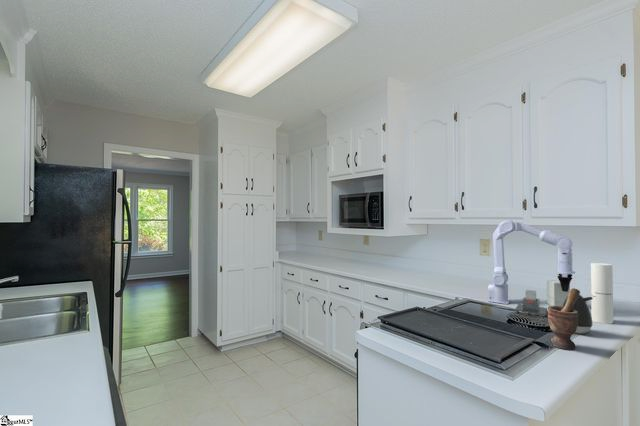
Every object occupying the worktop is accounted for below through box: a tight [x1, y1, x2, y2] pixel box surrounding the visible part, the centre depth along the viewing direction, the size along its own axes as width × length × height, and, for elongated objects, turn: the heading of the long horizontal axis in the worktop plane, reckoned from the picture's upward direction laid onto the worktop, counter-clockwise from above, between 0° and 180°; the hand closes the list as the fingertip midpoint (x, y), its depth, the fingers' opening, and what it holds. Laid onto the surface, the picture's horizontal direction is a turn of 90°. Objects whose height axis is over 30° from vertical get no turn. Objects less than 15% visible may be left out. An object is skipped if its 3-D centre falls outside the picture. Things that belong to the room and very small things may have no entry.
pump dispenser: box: [562, 294, 593, 335], centre depth 130 cm, size 10×10×15 cm
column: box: [525, 289, 537, 301], centre depth 157 cm, size 4×4×8 cm
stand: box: [514, 296, 548, 317], centre depth 157 cm, size 12×12×6 cm
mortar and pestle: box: [547, 287, 581, 351], centre depth 117 cm, size 12×9×20 cm
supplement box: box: [546, 279, 571, 307], centre depth 167 cm, size 7×7×13 cm
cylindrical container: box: [590, 262, 614, 325], centre depth 143 cm, size 7×7×25 cm
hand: (565, 290), depth 159 cm, fingers open, 7 cm apart
